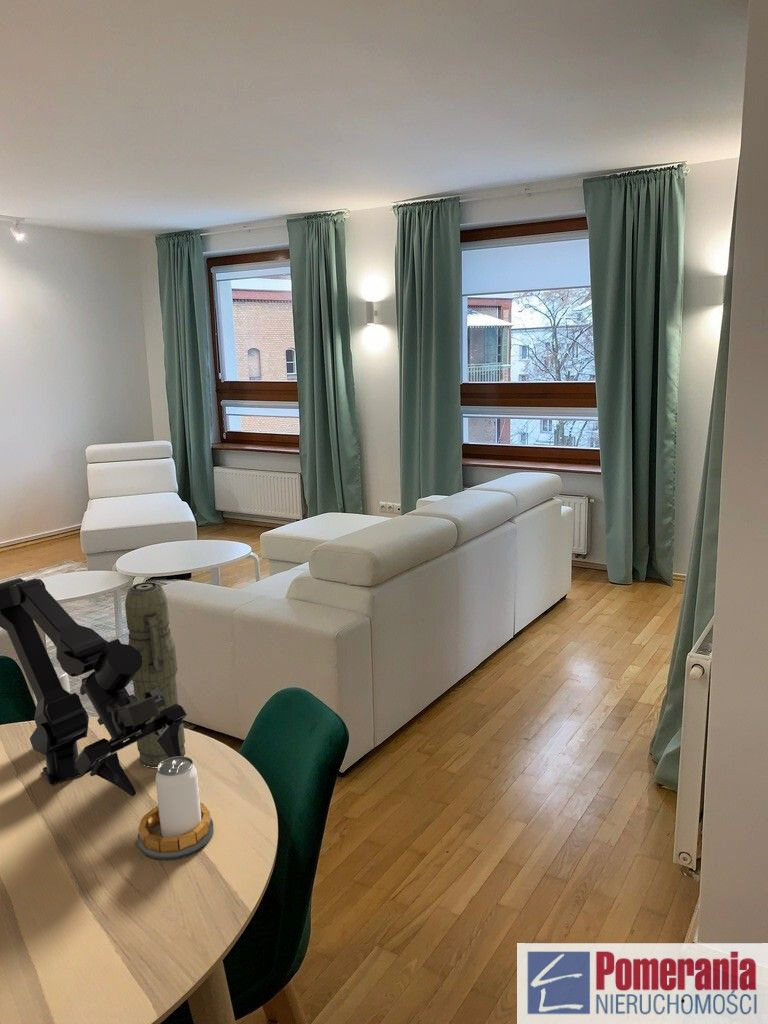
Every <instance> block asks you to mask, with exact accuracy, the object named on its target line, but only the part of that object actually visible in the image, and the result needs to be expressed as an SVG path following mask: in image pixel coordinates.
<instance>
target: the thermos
mask: <svg viewBox="0 0 768 1024" xmlns="http://www.w3.org/2000/svg"><path fill="white" fill-rule="evenodd" d="M124 609H125V616H126V617H125V618H126V626H127V630H128V644H127V645H130V646H132V647H134V648H135V649H136V650H138V651H139V652H140V654H141V656H142V666H141V668H140V669H139V670H138V672H137V673H136V674H135V676H134V677H133V678H132V680H131V681H132V684H133V694H134V696H136V697H137V699H138V700H139V701H140V700H142V699H144V698H145V693H146V692H148V691H150V690H152V689H155V688H158V689H159V690H160V692H161V693H162V694H163V696H164V699H165V705H164V706H162V707H160V708H158V709H159V712H160V711H162V710H164V709H166V708H168V707H170V706H172V705H175V704H178V705H179V697H178V688H177V687H178V686H177V677H176V675H177V672H178V661H177V653H176V642H175V641H174V638H173V637H172V635H171V628H169V627H170V626H169V625H170V616H169V606H168V598H167V595H166V593H165V591H164V588H163V586H162V585H161V584H160V583H156V582H152V581H150V582H149V581H145V582H139V583H136V584H133V585H132V586H130V587H129V588H128V589H127V592H126V597H125V602H124ZM154 718H155V717H154V716H153V717H151V719H150V720H149V721H147V722H146V724H148V723H150V722H152V721H153V720H154ZM184 727H185V726H184V723H183V724H182V725H181V726H180V727H179V732H178V739H179V747H180V752H181V756H184V755H185V756H186V747H185V743H186V739H185V738H186V737H185V728H184ZM141 733H142V732H141ZM141 733H140V734H141ZM159 737H160V736H159V735H156V734H154V733H153V734H151V735H149V736H147V737H145V738H143V739H141V740H139V741H137V742H136V745H137V751H138V752H139V762H140V764H141V763H142V764H143V765H145V766H149V767H158V765H159V764H160V763H161V762H162V761H164V760H166V759H168V758H169V757H168V756H167V754H166V753H165V751H164V750H163V749H162V747H161V746H160V744H159V743H158V741H157V740H158V739H159ZM142 764H141V765H142ZM143 765H142V766H143ZM145 766H144V767H145ZM149 767H148V768H149Z"/></svg>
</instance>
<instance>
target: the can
mask: <svg viewBox="0 0 768 1024" xmlns="http://www.w3.org/2000/svg"><path fill="white" fill-rule="evenodd" d="M155 788H156V789H155V790H156V799H157V806H158V808H159V817H160V825H161V833H162V836H163V838H168V837H178V836H180V835H183V834H185V833H188V832H190V831H192V830H193V829H195V828H196V827H197V826H198V825H199V824H200V823H201V822H202V819H201V809H200V803H201V802H200V793H199V792H200V790H199V779H198V771H197V768H196V766H195V765H194V761H193V759H192V758H191V757H188V756H186V755H185V756H176V757H171V758H168V759H166V760H164V761H162V762H161V763H160V764H159V765H158V767H157V768H156V775H155Z"/></svg>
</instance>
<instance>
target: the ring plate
mask: <svg viewBox="0 0 768 1024" xmlns="http://www.w3.org/2000/svg"><path fill="white" fill-rule="evenodd" d="M200 809H201V819H202V822H201V823H200V824H199V825H198V826H197V827H196V828H195V829H193V830H192V831H190V832H188V833H185V834H183V835H180V836H178V837H168V838H163V836H162V833H161V825H160V817H159V808H158V805H157V806H155V807H154V808H152V809H150V811H148V812H147V813H146V814H144V815H143V816H142V818H141V819H140V823H139V824H138V833H137V834H138V835H137V846H138V847H137V848H138V849H139V852H141V854H142V855H143V856H145V857H147V858H149V859H151V860H157V861H174V860H175V861H176V860H179V859H184V858H186V857H189V856H192V855H193V854H196V853H197V852H199V851H200V850H202V849H203V848H205V846H207V845H208V843H209V842H210V841H211V839H212V838H213V835H214V822H213V819H212V817H211V811H210V810H209V809H208V808H207V806H206V805H205V804H204V803H202V802H200Z"/></svg>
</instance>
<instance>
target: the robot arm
mask: <svg viewBox="0 0 768 1024" xmlns="http://www.w3.org/2000/svg"><path fill="white" fill-rule="evenodd" d="M36 624H37V626H38V627H39V628H40V629H41V631H43V633H44V634H45V635H46V636H47V638H48V639H50V641H51V642H52V643H53V645H54V646H55V648H56V651H55V653H56V656H55V657H56V660H57V661H58V663H59V665H60V667H61V668H62V669H63V671H65V672H66V673H67V674H68V676H70V677H71V678H72V677H79V676H81V675H84V674H86V673H89V672H91V673H90V674H89V675H88V676H85V677H83V678H82V679H81V686H80V688H79V693H80V696H84V695H86V696H87V698H88V699H89V701H90V702H91V705H92V706H93V708H94V709H95V712H96V713H97V715H98V718H97V720H96V721H97V723H98V725H99V726H102V725H103V726H104V728H105V729H106V731H107V733H108V734H109V736H110V739H107V738H105V737H103V738H101V739H98V740H97V741H95V742H93V743H90V744H89V745H86V746H85V747H84V748H83V749H82V751H80V753H79V748H78V747H79V746H78V741H79V740H81V739H85V738H86V737H88V731H89V730H88V729H89V721H90V720H89V719H90V716H89V714H88V712H87V711H86V709H85V707H84V706H83V704H82V703H83V702H81V698H80V696H79V695H78V694H77V693H76V692H73V693H71V692H70V693H69V692H67V691H66V690H64V689H63V687H62V685H61V683H60V680H59V678H58V676H57V673H56V671H55V669H54V667H55V666H54V665H53V662H52V660H51V658H50V655H49V653H48V651H47V648H46V646H45V643H44V642H43V639H42V638H41V635H40V633H39V630H38V627H37V626H36ZM0 628H2V629H3V630H4V631H6V633H7V634H8V636H9V639H10V641H11V644H12V646H13V647H14V648H13V649H14V650H15V653H16V656H17V657H18V660H19V662H20V664H21V667H22V670H23V672H24V674H25V676H26V679H27V680H28V683H29V685H30V687H31V690H32V693H33V692H34V694H33V696H34V695H35V697H36V699H37V706H36V705H35V706H36V707H35V712H34V717H33V718H34V722H35V725H36V728H35V729H34V731H33V732H32V734H31V736H30V737H29V741H30V745H31V747H32V749H33V750H34V751H36V752H38V753H40V754H42V755H44V756H45V764H46V766H44V767H43V768H42V772H43V774H44V776H45V778H46V780H47V781H48V783H49V785H51V786H52V785H55V784H57V783H58V784H59V783H61V782H65V781H67V780H70V779H73V778H76V777H78V776H84V775H86V774H88V773H89V776H90V777H94V776H97V777H99V778H101V779H104V780H105V781H107V782H109V783H111V784H112V785H113V786H116V787H117V788H118V789H119V790H122V791H123V792H124V793H126V794H127V795H129V796H130V797H135V796H136V795H137V791H136V789H135V787H134V784H133V783H132V781H131V780H130V778H129V777H128V775H127V773H126V772H125V770H124V769H123V767H122V765H121V763H120V760H119V755H118V751H120V750H122V749H125V748H126V747H128V746H130V745H133V744H134V743H137V741H139V740H141V739H143V738H145V737H147V736H149V735H151V734H153V733H154V734H156V735H159V736H160V737H159V739H158V740H157V741H158V743H159V744H160V746H161V747H162V749H163V750H164V751H165V753H166V754H167V756H168V757H169V758H171V757H176V756H181V752H180V747H179V739H178V732H179V727H180V726H181V725H182V724H183V725H184V720H185V718H186V717H187V716H188V712H187V711H186V710H185V708H184V707H183V706H182V705H180V704H179V703H178V704H175V705H172V706H170V707H168V708H166V709H164V710H162V711H160V712H159V709H158V708H160V707H162V706H164V705H165V699H164V696H163V694H162V693H161V692H160V690H159V689H158V688H155V689H152V690H150V691H148V692H146V693H145V698H144V699H142V700H140V701H139V700H138V699H137V697H136V696H135V695H134V693H133V694H131V695H130V694H129V693H128V691H127V689H126V687H128V685H129V684H130V683H131V681H132V678H133V677H134V676H135V674H136V673H137V672H138V670H139V669H140V668H141V666H142V656H141V654H140V652H139V651H138V650H136V649H135V648H134V647H132V646H130V645H128V644H127V643H122V642H121V641H120V639H119V638H116V639H113V640H110V641H108V640H106V639H104V638H103V637H102V636H101V635H100V634H99V633H98V632H97V631H95V630H94V629H93V628H91V627H87V626H83V625H80V624H78V622H76V621H75V620H74V618H73V617H72V616H71V615H70V614H69V612H67V611H66V610H65V609H64V608H63V607H62V606H61V604H60V602H58V600H57V599H56V598H55V597H54V596H52V594H51V593H50V592H49V590H47V589H46V584H45V582H44V581H43V580H42V579H41V578H35V577H34V578H32V579H28V580H26V579H25V580H24V579H23V578H20V577H19V578H15V579H11V580H6V581H3V582H0ZM153 716H154V717H155V718H154V720H153V721H152V722H150V723H148V724H146V722H147V721H149V720H150V719H151V717H153ZM141 732H142V733H141ZM140 733H141V734H140Z"/></svg>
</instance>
